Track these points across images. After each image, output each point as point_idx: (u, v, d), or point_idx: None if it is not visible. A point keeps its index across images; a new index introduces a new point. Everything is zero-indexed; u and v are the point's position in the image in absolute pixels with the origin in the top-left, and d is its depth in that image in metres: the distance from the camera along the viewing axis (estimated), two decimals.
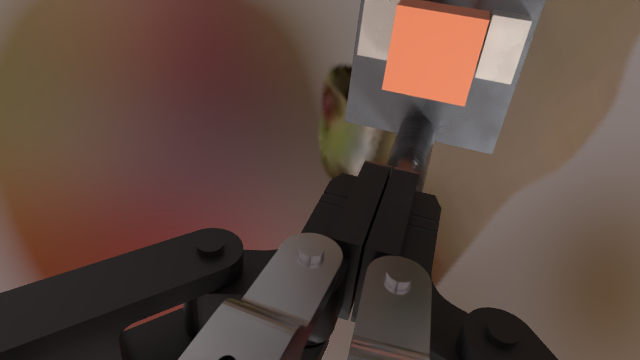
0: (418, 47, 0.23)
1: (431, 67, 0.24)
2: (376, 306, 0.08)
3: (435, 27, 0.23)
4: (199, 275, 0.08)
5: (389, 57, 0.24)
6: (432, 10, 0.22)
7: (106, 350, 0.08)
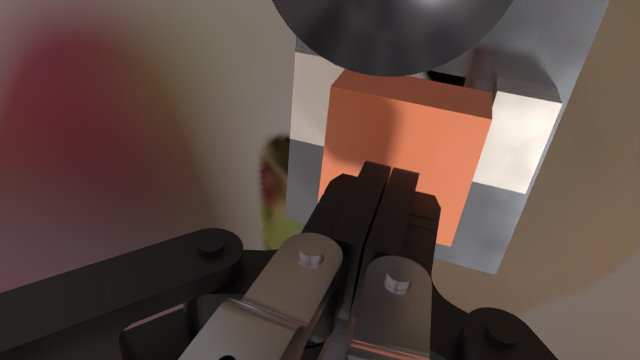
0: (370, 154, 0.14)
1: None
2: (376, 306, 0.08)
3: (398, 125, 0.13)
4: (199, 275, 0.08)
5: (324, 166, 0.14)
6: (391, 97, 0.13)
7: (106, 350, 0.08)
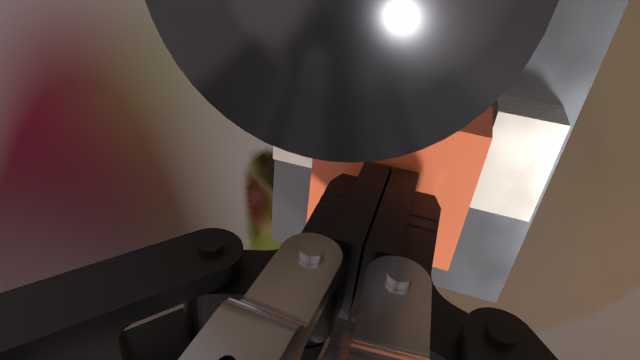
0: None
1: None
2: (376, 306, 0.08)
3: None
4: (199, 275, 0.08)
5: (313, 184, 0.13)
6: None
7: (106, 350, 0.08)
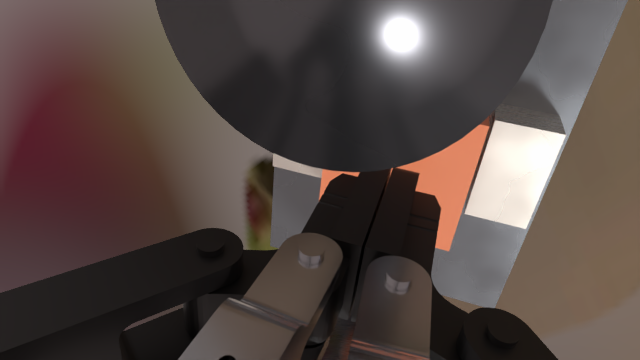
0: None
1: None
2: (376, 306, 0.08)
3: None
4: (199, 275, 0.08)
5: (325, 171, 0.15)
6: None
7: (106, 350, 0.08)
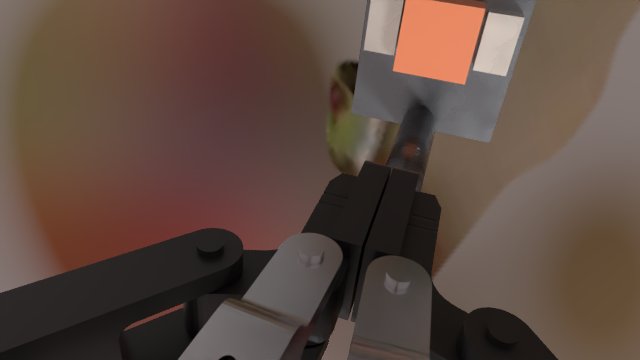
0: (424, 33, 0.27)
1: (435, 50, 0.27)
2: (376, 306, 0.08)
3: (439, 15, 0.26)
4: (199, 275, 0.08)
5: (399, 42, 0.28)
6: (436, 1, 0.26)
7: (106, 350, 0.08)
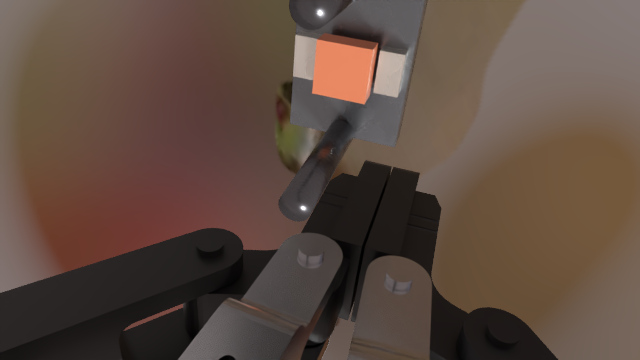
0: (332, 66, 0.36)
1: (341, 79, 0.36)
2: (376, 306, 0.08)
3: (341, 53, 0.35)
4: (199, 275, 0.08)
5: (315, 72, 0.37)
6: (338, 43, 0.35)
7: (106, 350, 0.08)
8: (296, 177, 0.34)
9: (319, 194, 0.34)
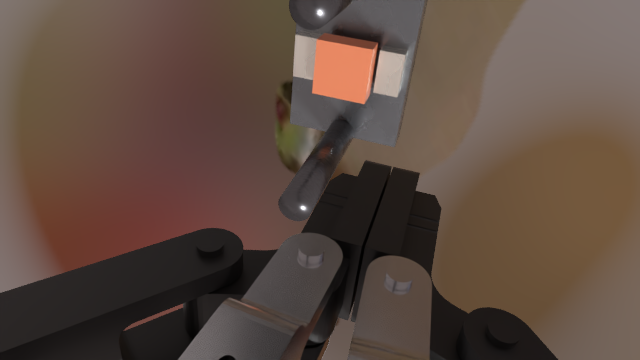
0: (332, 66, 0.36)
1: (341, 78, 0.36)
2: (376, 306, 0.08)
3: (341, 53, 0.35)
4: (199, 275, 0.08)
5: (315, 72, 0.37)
6: (338, 43, 0.35)
7: (106, 350, 0.08)
8: (296, 177, 0.34)
9: (319, 194, 0.34)
